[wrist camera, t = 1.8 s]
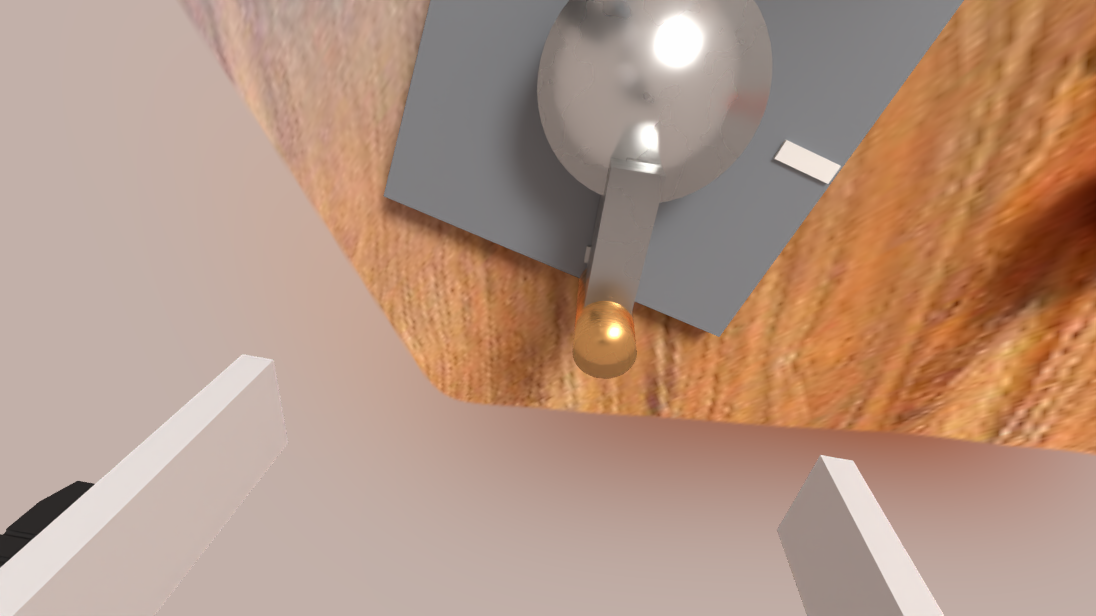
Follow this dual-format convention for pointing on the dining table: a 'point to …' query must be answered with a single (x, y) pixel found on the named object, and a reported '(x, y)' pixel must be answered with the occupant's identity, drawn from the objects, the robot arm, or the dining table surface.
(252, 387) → the robot arm
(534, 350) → the dining table surface
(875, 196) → the dining table surface
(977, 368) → the dining table surface
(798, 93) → the plate
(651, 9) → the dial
